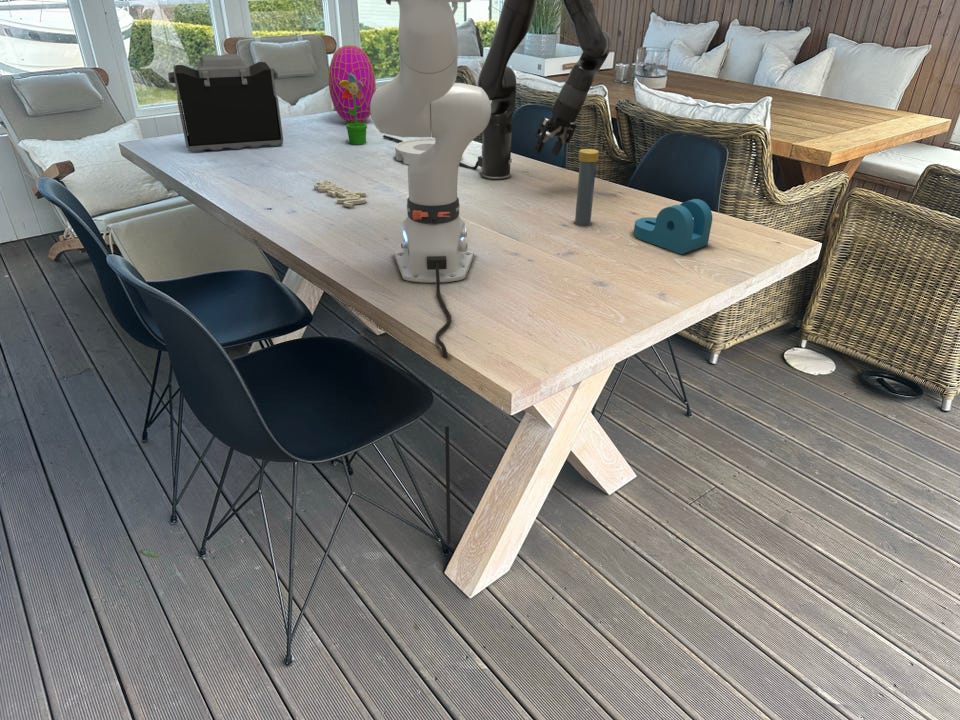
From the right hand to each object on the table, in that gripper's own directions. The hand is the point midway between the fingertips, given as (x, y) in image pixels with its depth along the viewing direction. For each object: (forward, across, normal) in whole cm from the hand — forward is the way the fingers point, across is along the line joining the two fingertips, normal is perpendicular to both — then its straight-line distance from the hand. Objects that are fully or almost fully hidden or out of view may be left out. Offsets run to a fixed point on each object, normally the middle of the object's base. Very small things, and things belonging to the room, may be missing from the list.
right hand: (545, 153), depth 205 cm
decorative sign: (+33, +43, -31) cm, 62 cm away
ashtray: (+28, -4, -48) cm, 55 cm away
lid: (-12, +16, +24) cm, 31 cm away
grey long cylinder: (+5, +12, +30) cm, 32 cm away
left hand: (-24, +46, -15) cm, 54 cm away
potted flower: (+40, +1, -80) cm, 89 cm away
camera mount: (-3, +7, +51) cm, 51 cm away
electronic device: (+56, +34, -108) cm, 126 cm away
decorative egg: (+45, -20, -110) cm, 121 cm away
